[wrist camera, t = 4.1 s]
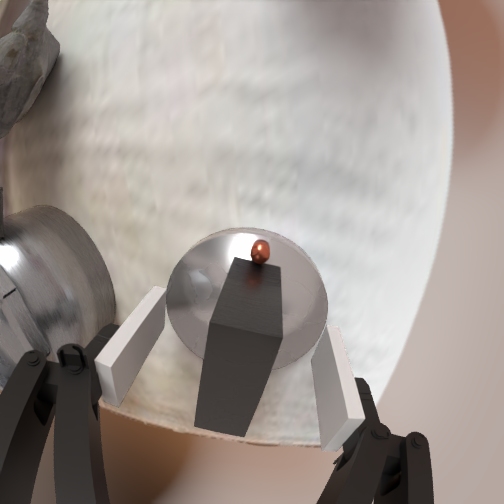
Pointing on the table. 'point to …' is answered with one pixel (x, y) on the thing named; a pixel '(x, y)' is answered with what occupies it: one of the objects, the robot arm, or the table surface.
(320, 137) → the table surface
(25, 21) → the fossil
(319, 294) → the lid
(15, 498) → the robot arm
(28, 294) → the pot
